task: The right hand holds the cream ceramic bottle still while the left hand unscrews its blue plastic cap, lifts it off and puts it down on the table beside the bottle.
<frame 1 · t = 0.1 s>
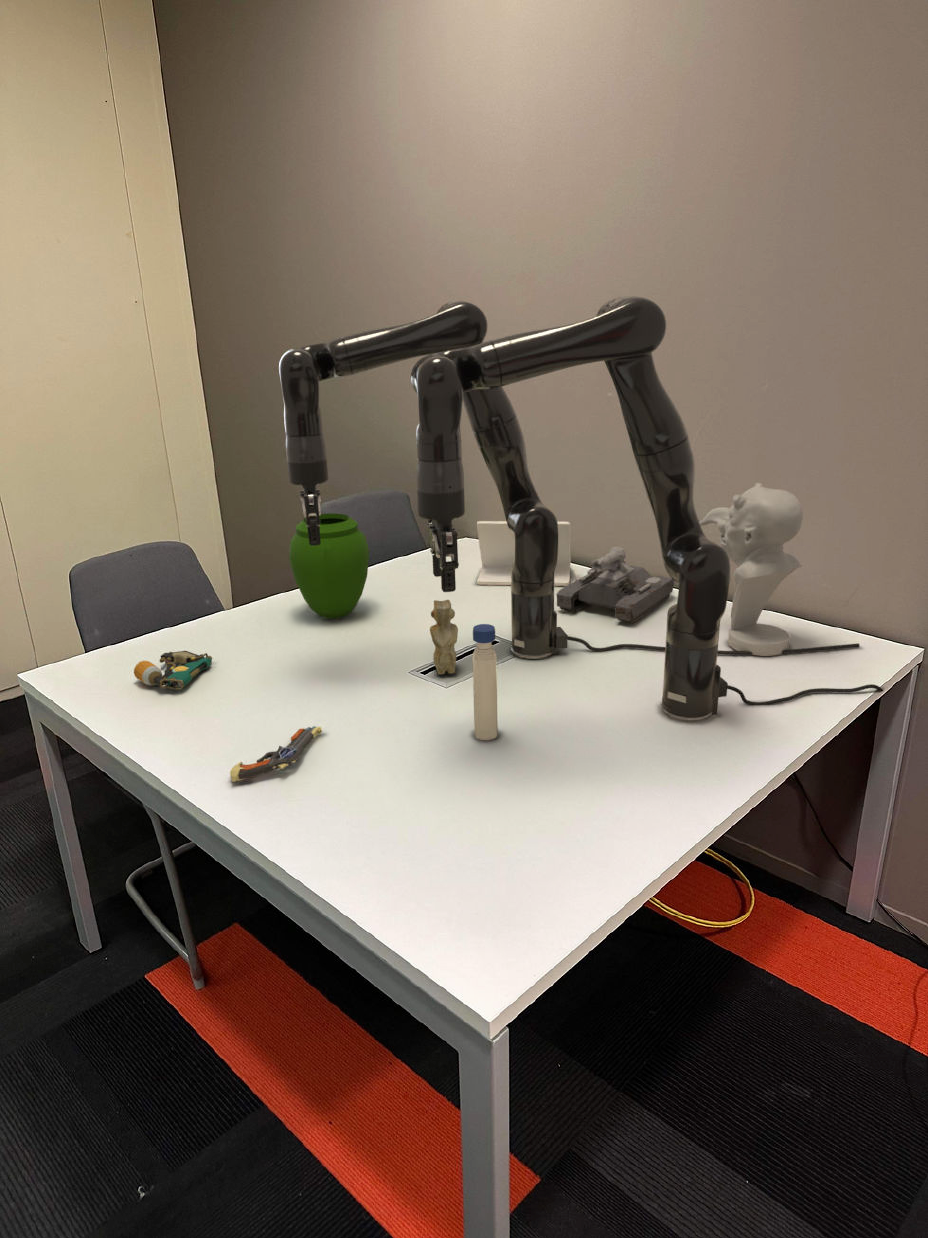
left hand: (314, 539, 170), 29 cm above the table, tool pointing down, fingers open, 8 cm apart
right hand: (444, 583, 141), 29 cm above the table, tool pointing down, fingers open, 8 cm apart
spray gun: (177, 676, 181), on the table
vase: (334, 614, 214), on the table
bottle: (486, 734, 153), on the table
tablet stand: (525, 575, 239), on the table
bust sculpture: (740, 642, 190), on the table
sculpture: (445, 671, 180), on the table
toy gun: (278, 758, 147), on the table
cap: (483, 629, 146), point 20 cm above the table, screwed on, not yet turned
toy: (615, 605, 214), on the table
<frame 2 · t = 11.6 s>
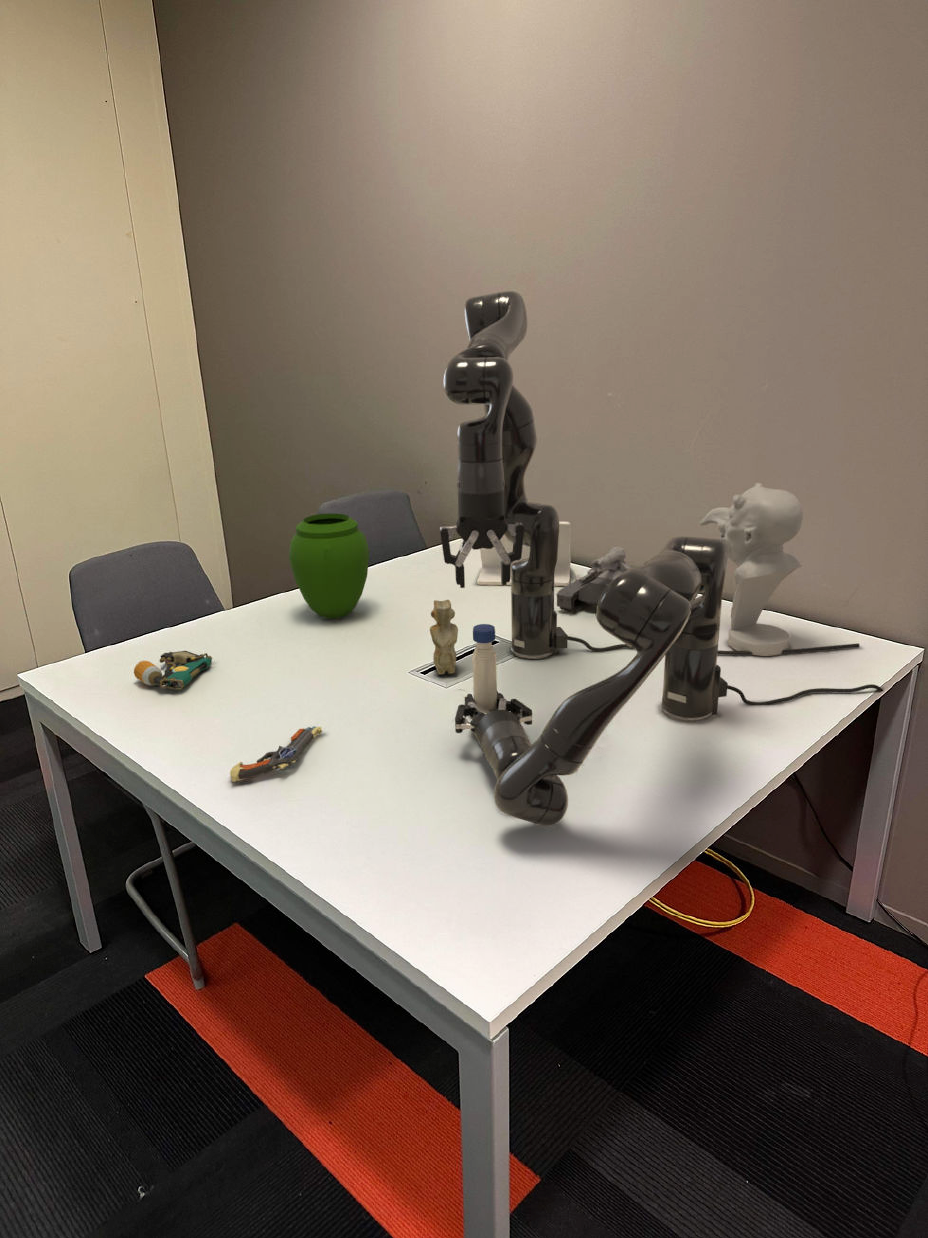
left hand: (482, 585, 143), 28 cm above the table, tool pointing down, fingers open, 6 cm apart
right hand: (482, 697, 153), 6 cm above the table, tool horizontal, fingers closed on bottle, 4 cm apart
bottle: (486, 734, 153), on the table, touching right hand
everything else where it was.
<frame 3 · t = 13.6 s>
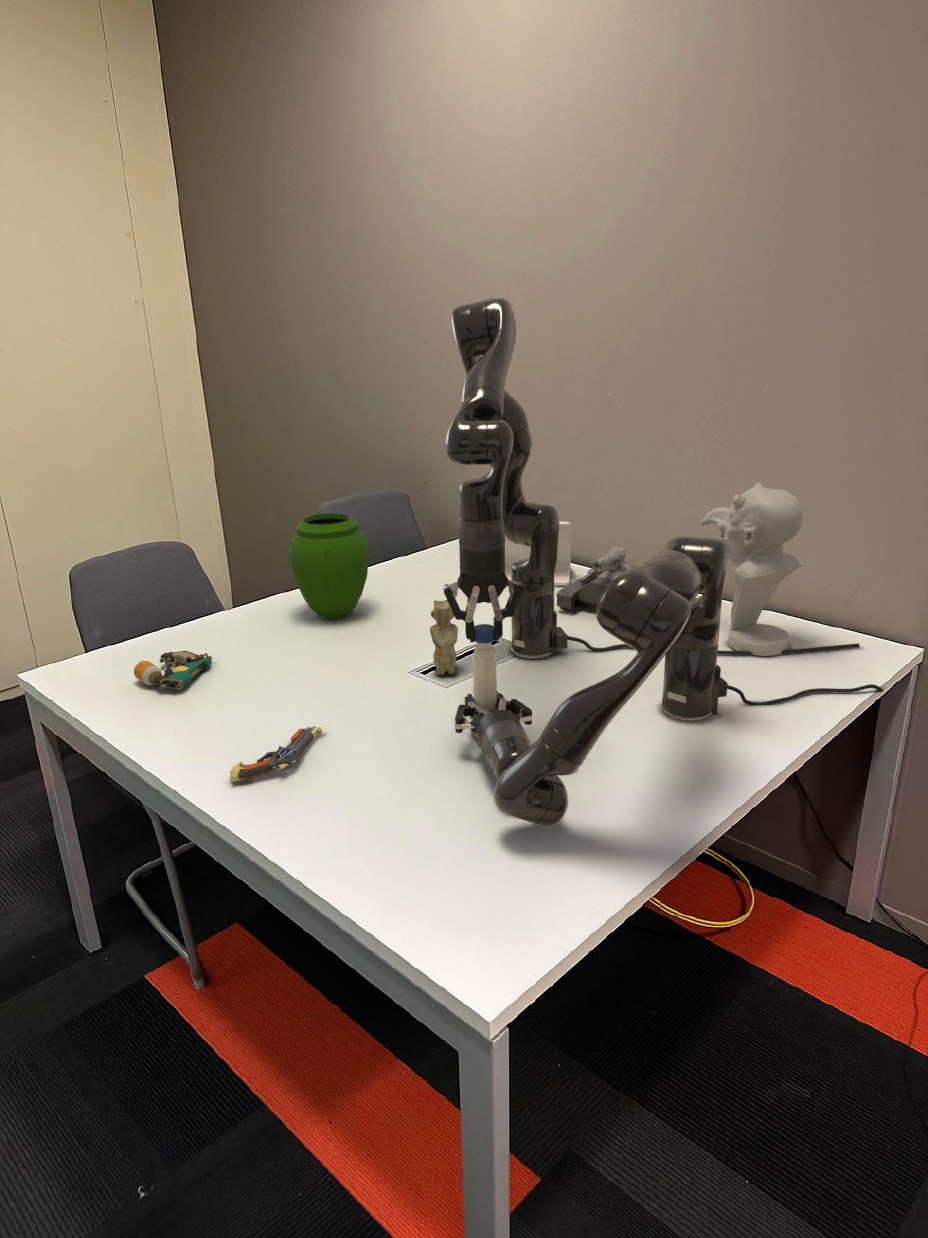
left hand: (484, 639, 146), 18 cm above the table, tool pointing down, fingers closed on cap, 3 cm apart
right hand: (482, 697, 153), 6 cm above the table, tool horizontal, fingers closed on bottle, 4 cm apart
bottle: (486, 734, 153), on the table, touching right hand
cap: (483, 629, 146), point 20 cm above the table, screwed on, not yet turned, touching left hand
everything else where it was.
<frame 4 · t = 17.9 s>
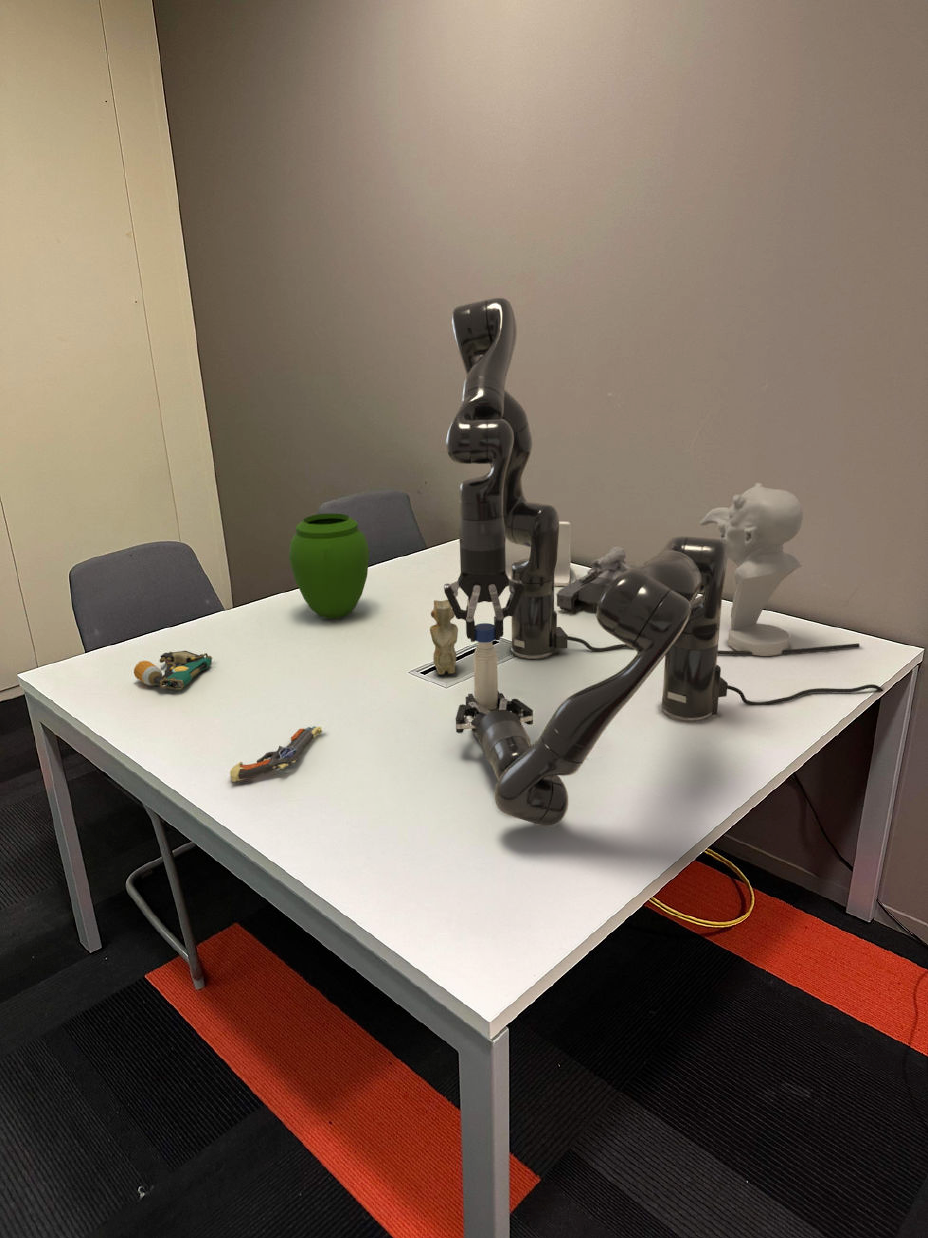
left hand: (484, 639, 146), 19 cm above the table, tool pointing down, fingers closed on cap, 3 cm apart
right hand: (483, 697, 153), 6 cm above the table, tool horizontal, fingers closed on bottle, 4 cm apart
bottle: (487, 734, 153), on the table, touching right hand
cap: (484, 628, 146), point 20 cm above the table, turned 110° so far, risen 0.1 cm, still on its thread, touching left hand
everything else where it was.
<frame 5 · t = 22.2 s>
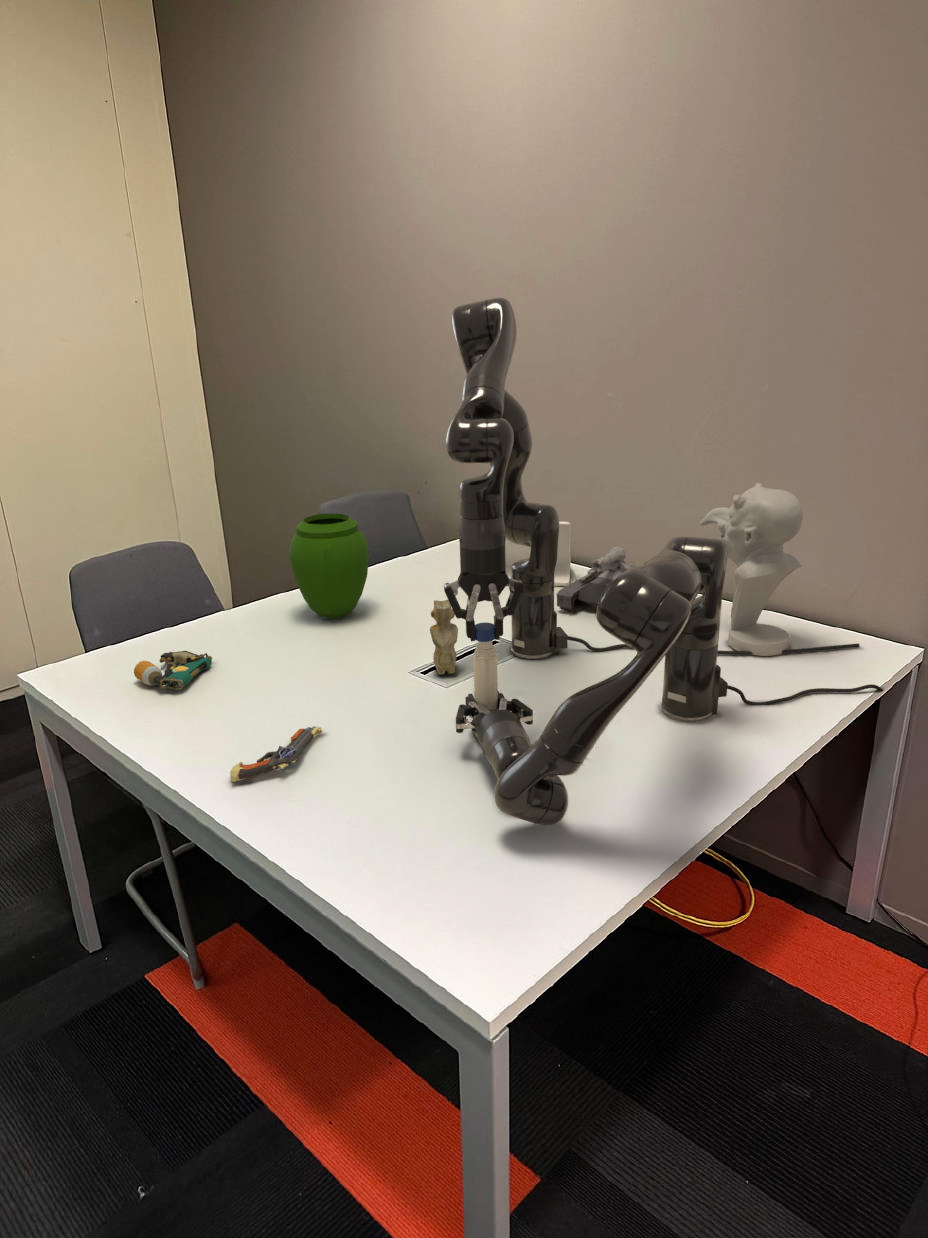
left hand: (484, 638, 146), 19 cm above the table, tool pointing down, fingers closed on cap, 3 cm apart
right hand: (482, 697, 153), 6 cm above the table, tool horizontal, fingers closed on bottle, 4 cm apart
bottle: (487, 734, 153), on the table, touching right hand
cap: (484, 627, 146), point 21 cm above the table, turned 220° so far, risen 0.3 cm, still on its thread, touching left hand
everything else where it was.
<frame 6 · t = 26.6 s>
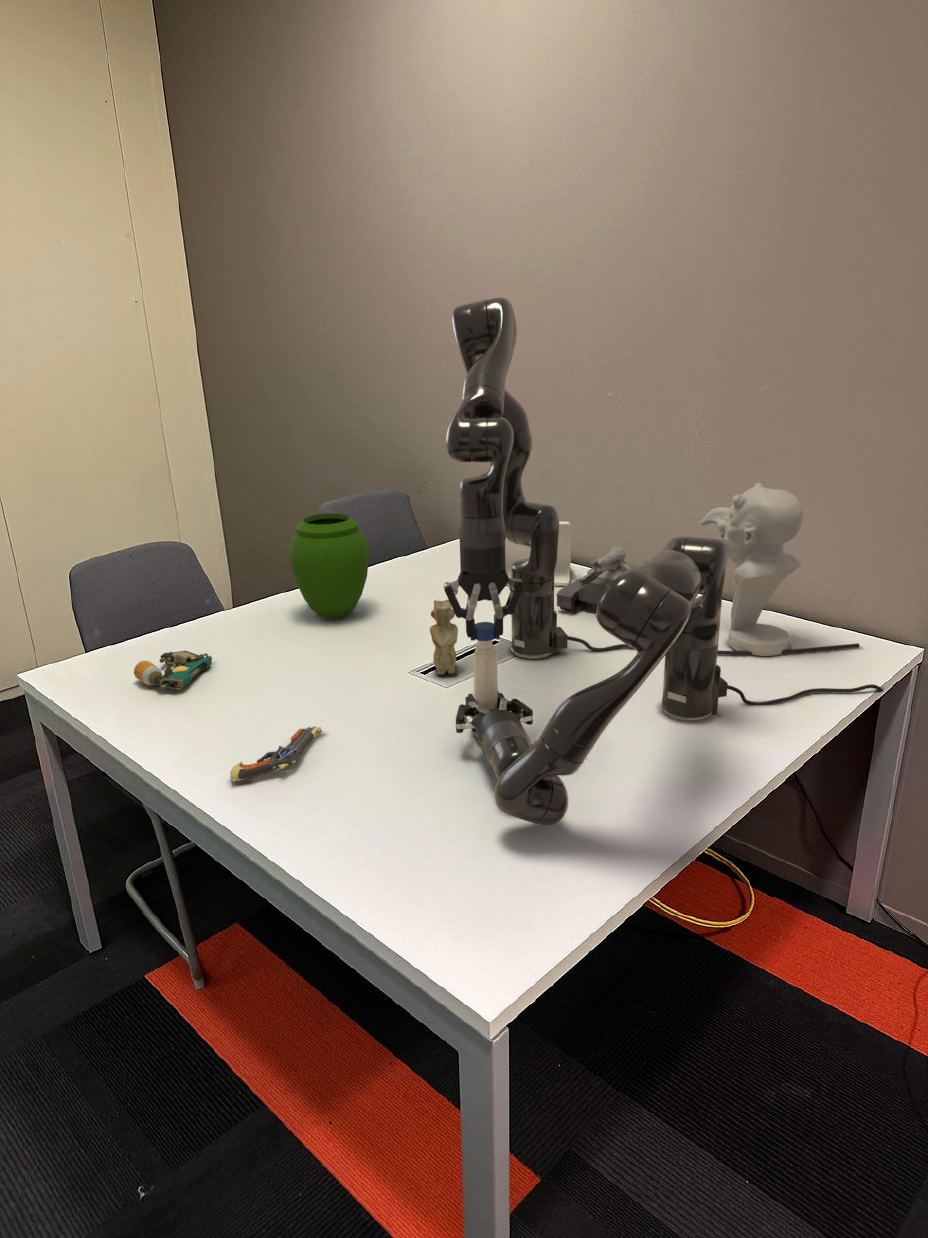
left hand: (484, 637, 146), 19 cm above the table, tool pointing down, fingers closed on cap, 3 cm apart
right hand: (482, 697, 153), 6 cm above the table, tool horizontal, fingers closed on bottle, 4 cm apart
bottle: (487, 734, 153), on the table, touching right hand
cap: (484, 627, 146), point 21 cm above the table, turned 329° so far, risen 0.4 cm, still on its thread, touching left hand
everything else where it was.
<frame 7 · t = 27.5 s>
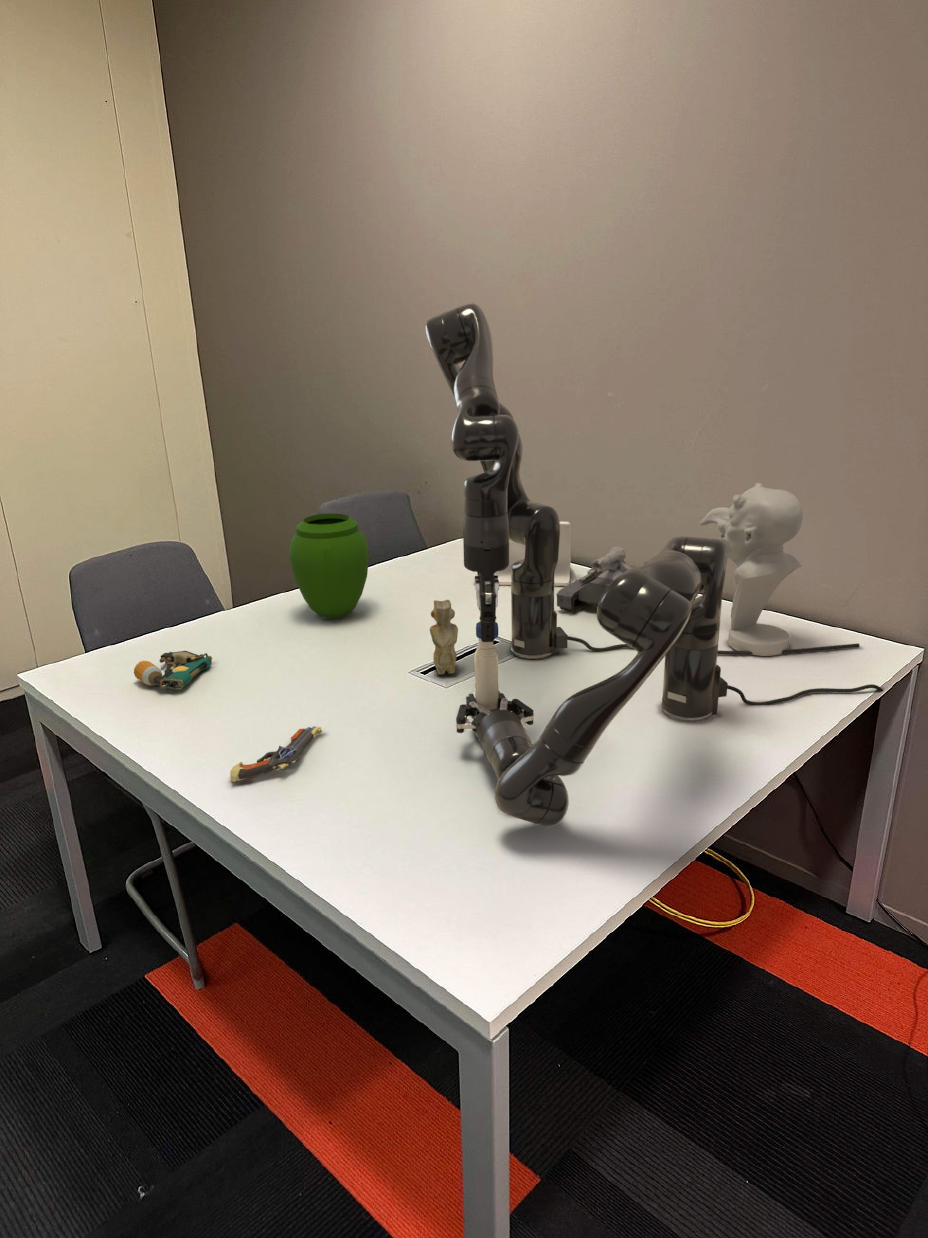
left hand: (487, 636, 146), 19 cm above the table, tool pointing down, fingers closed on cap, 3 cm apart
right hand: (483, 697, 153), 6 cm above the table, tool horizontal, fingers closed on bottle, 4 cm apart
bottle: (487, 734, 153), on the table, touching right hand
cap: (487, 625, 145), point 21 cm above the table, off its thread, touching left hand
everything else where it was.
when the left hand's fingers open (1 cm above the table, at t = 34.0 s): cap stays where it is, point 2 cm above the table.
when the right hand's fingers open (6 cm above the table, at t = 35.2 s): bottle stays where it is, on the table.
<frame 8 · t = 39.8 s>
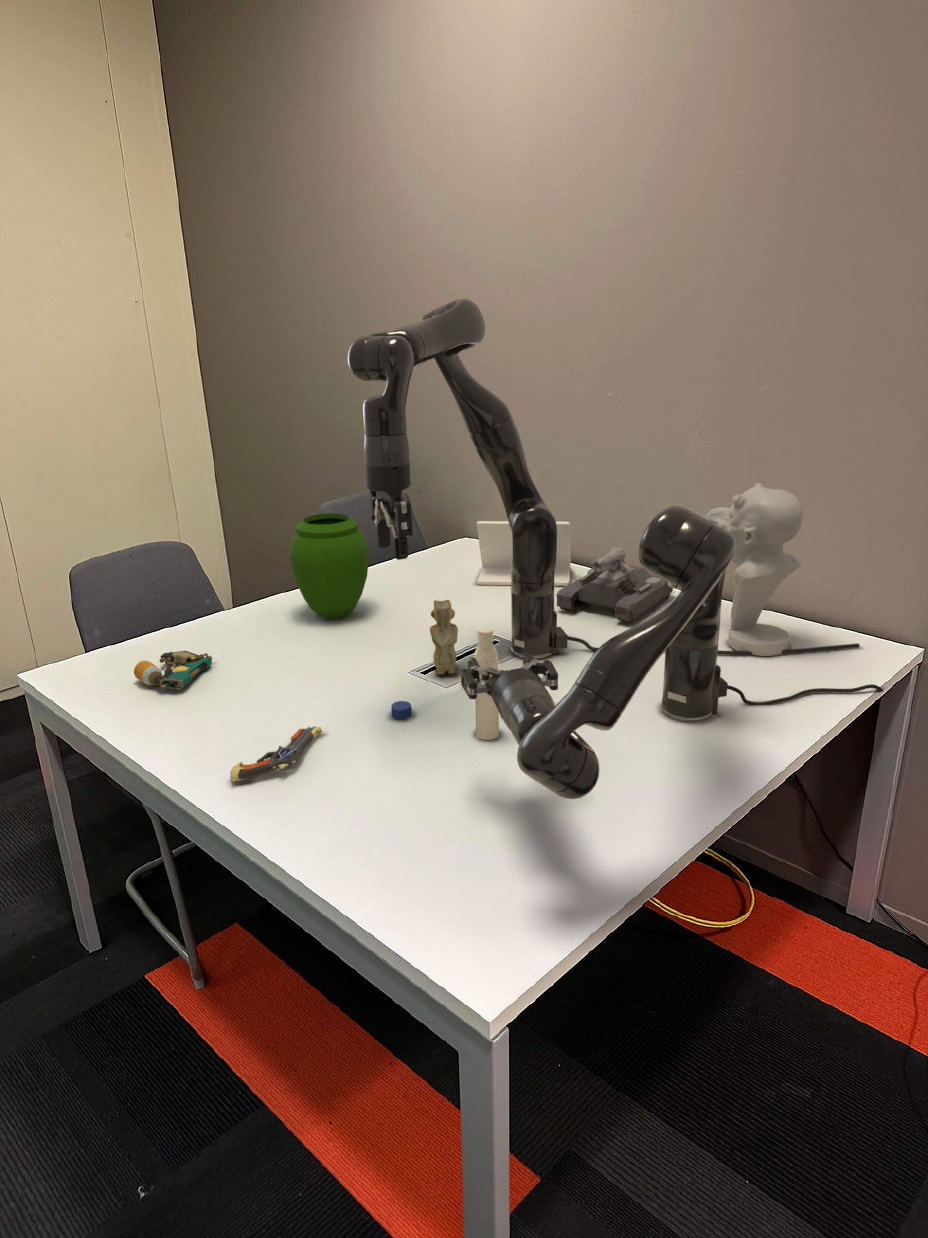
left hand: (392, 552, 150), 32 cm above the table, tool pointing down, fingers open, 8 cm apart
right hand: (498, 660, 136), 19 cm above the table, tool horizontal, fingers open, 8 cm apart
bottle: (487, 734, 153), on the table
cap: (401, 706, 160), point 2 cm above the table, off its thread
everything else where it was.
at the end: cap came off its thread; cap point 1.8 cm above the table; the left hand is holding nothing; the right hand is holding nothing; bottle tilted 0°; bottle moved 0.3 cm from its start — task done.
